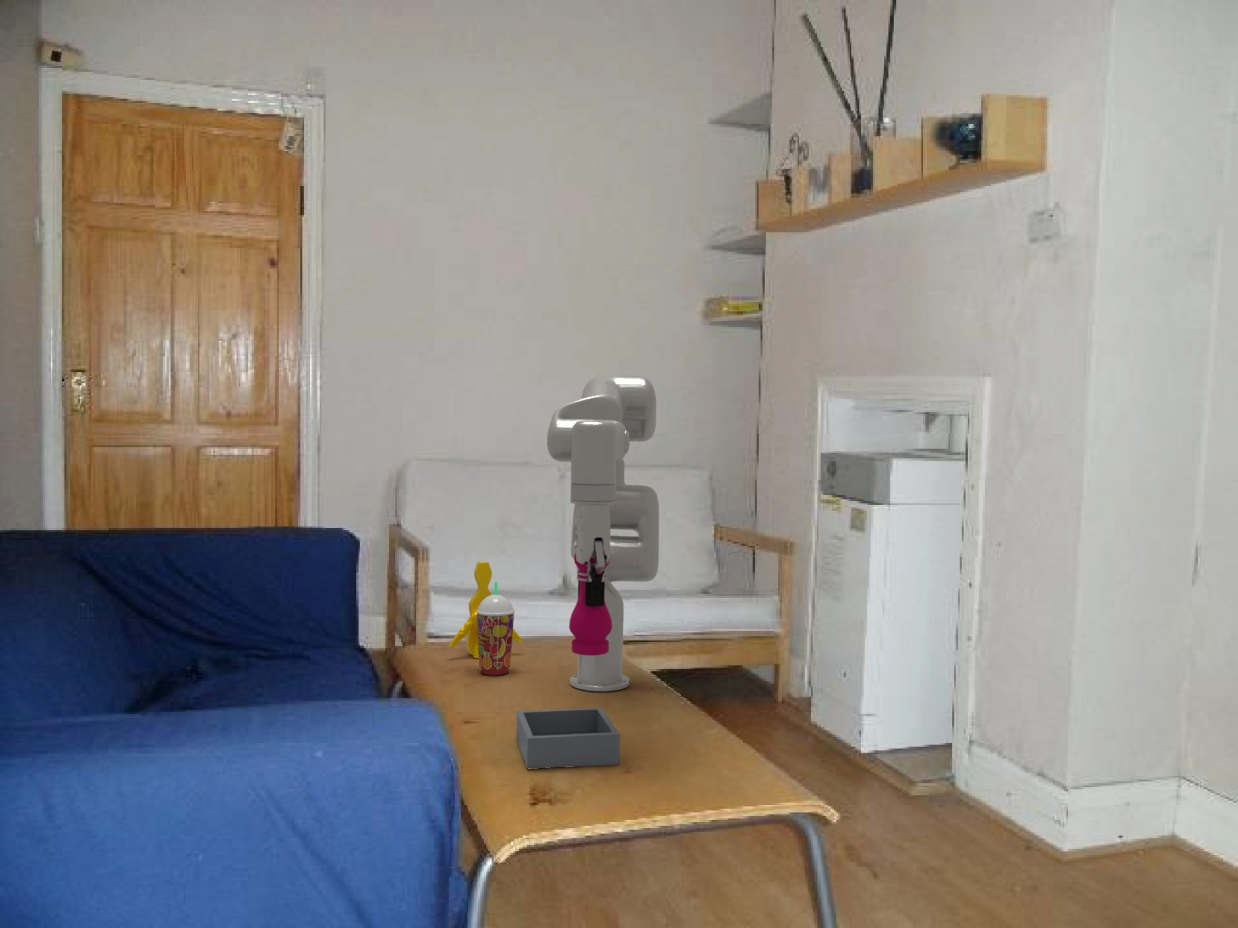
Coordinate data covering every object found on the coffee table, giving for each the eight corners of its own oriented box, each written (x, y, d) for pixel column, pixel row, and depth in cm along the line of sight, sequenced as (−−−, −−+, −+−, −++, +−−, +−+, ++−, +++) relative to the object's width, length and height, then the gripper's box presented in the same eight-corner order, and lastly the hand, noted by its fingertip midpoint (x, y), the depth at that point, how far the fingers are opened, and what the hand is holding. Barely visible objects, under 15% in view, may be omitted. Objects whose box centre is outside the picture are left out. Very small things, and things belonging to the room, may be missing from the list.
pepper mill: (574, 657, 160) (576, 535, 159) (564, 647, 167) (566, 530, 166) (616, 655, 162) (619, 535, 162) (604, 645, 169) (607, 530, 168)
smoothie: (470, 669, 218) (472, 580, 217) (506, 666, 221) (508, 578, 220) (481, 678, 210) (483, 586, 209) (518, 675, 214) (520, 584, 213)
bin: (516, 739, 170) (516, 711, 170) (600, 735, 173) (601, 707, 173) (527, 769, 156) (527, 738, 155) (619, 764, 159) (619, 733, 159)
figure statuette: (450, 662, 224) (451, 566, 223) (443, 654, 231) (444, 561, 230) (525, 656, 231) (526, 563, 230) (515, 649, 238) (517, 559, 237)
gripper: (561, 490, 171) (559, 594, 172) (581, 498, 154) (578, 613, 155) (603, 491, 173) (601, 593, 174) (627, 498, 156) (624, 611, 157)
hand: (590, 601), depth 164 cm, fingers closed on pepper mill, 5 cm apart
